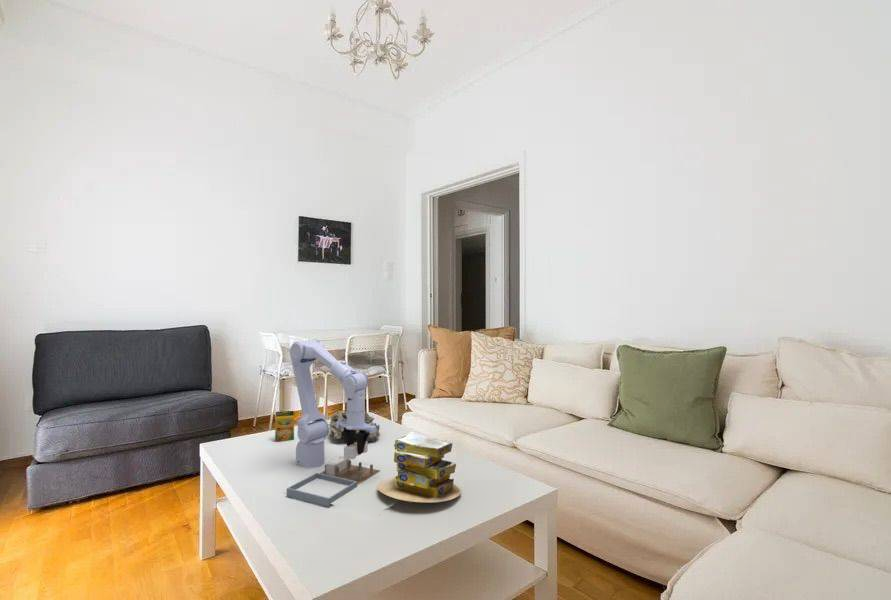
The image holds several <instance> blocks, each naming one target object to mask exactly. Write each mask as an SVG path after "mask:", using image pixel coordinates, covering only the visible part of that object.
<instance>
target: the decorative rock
mask: <svg viewBox="0 0 891 600" xmlns="http://www.w3.org/2000/svg"><path fill="white" fill-rule="evenodd" d="M374 420H375V418H374V417H372V416H370V415H369V414H368V411H365V423H367V424H370V425H373V426H376V432H375V433H373V434H371V433H370V434H369V436H368V438H367V440H366V441H368V442H374V441H375V439H376V438H377V437H379V436H380V432H379V431H380V429H381V428H380V424H377V423H376V422H375V423H374V422H373V421H374ZM338 421H347V411H345V412H341V411H337V412H335V413H334V414H332V415H331V419H330V422H329V423H328V425H329V430H331V431H330V436H332V437H333V438H335V439H337V440H338V439H341V438H343V436H342V434H341V432H342V431H343V430H344V428H336V422H338ZM358 432H359V431H357V430H356V433H358ZM355 440H356V437H355Z"/></svg>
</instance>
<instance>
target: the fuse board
mask: <svg viewBox="0 0 891 600" xmlns="http://www.w3.org/2000/svg"><path fill="white" fill-rule="evenodd" d="M380 472H381V470H379V469H376V468H374V464H372V463H371V464H370V465H369V467H364V466H363V464H362V462H361V461H360V462H358V465H355V464H352V459H350V460H349V461H348V468H347V469H346V468H345V469H344V470H342V471H340V472H339V467H336V475H330V476H334V477H339V478H343V479H348V480H352V481H357V485H361V484H362V483H364V482H365V481H367V480H368V479H370V478H371V477H373V476H375V475H376V474H377V473H380ZM320 473H321V474H325V475H329V474H326V464H324V470H323V471H321V472H320Z"/></svg>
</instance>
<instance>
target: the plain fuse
mask: <svg viewBox="0 0 891 600" xmlns="http://www.w3.org/2000/svg"><path fill="white" fill-rule="evenodd" d="M349 460H351V459H347V458H344V455H340V456H338V458H336V459H334V460H332V461H328V462H326V463H325V465H326V474H329V475H336V467H339V472H340V471H342V470H344V469H345V468H346V469H347V468H348V461H349Z"/></svg>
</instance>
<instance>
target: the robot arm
mask: <svg viewBox="0 0 891 600" xmlns="http://www.w3.org/2000/svg"><path fill="white" fill-rule="evenodd" d="M289 356H290V359H291V364H292V369H293V373H294V379H295V382H296V384H295V385H296V388H297V394H298V398H299V402H300V408H301V409H300V410H301V413H302V416H301V417H300V418H299V420H298V421H297V433H296V434H297V438H298V442H297V444H296V447H295V465H298V466H302V467H304V468H306V469H307V468H308V469H315V468H318V467H322V466H323V465H324V466H325V440H326V439H327V437H328V435H329V433H330V429H329V428H330V426H329V425H328V424H329V423H328V421H327V418H326V415H325V414H324V413H322V412H320V411H319V407H318V403H317V399H316V398H317V397H316V393H315V388H314V384H313V378H312V373H311V370H310V369H311V366H312V365H313V363H315V362H316V361H317V360H318V361H319V362H320V363H322V365H324V366H325V367H328V368H329V369H330V375H332V377H334V378H336V380H338V381H339V382H340V383H341V384H342V388H343V390H344V393H345V394H344V395H345V398H346V412H347V421H338V422H336V428H344V430H343V431H342V432H341V434H342V438H343V439H344V441H345V445H346V446H349V445H351V444H353V443H355V442H356V441H357V452H358V454H361V453H362V454H364V453H363V451H364V447H365V443H366V440H367V438H368V436H369V434H370V433H371V434H373V433H375V432H376V426H373V425H370V424H367V423H365V412H366V411H365V407H366V405H365V403H366V402H365V398H366V395H365V394H366V393H365V391H366V389H367V388H368V387H369V378H368V376H367V374H366V373H365V372H363V371H357V370H356V369H355V368H352V367H351V365H349V364H348V363H347V361H346V360H338V359H337V358H335V357H334V356H333V354H331V353H330V352H329V351H328V350H327V349H326V348H325V344H324V343H323V342H321V340H319V339H310V340H301V341H297V340H296V341H294V342H293V343H292V345H291V347H290V348H289ZM356 430H357V431H359V432H358V433H356ZM355 437H356V439H355ZM355 440H356V441H355ZM362 454H361V455H362Z"/></svg>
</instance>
